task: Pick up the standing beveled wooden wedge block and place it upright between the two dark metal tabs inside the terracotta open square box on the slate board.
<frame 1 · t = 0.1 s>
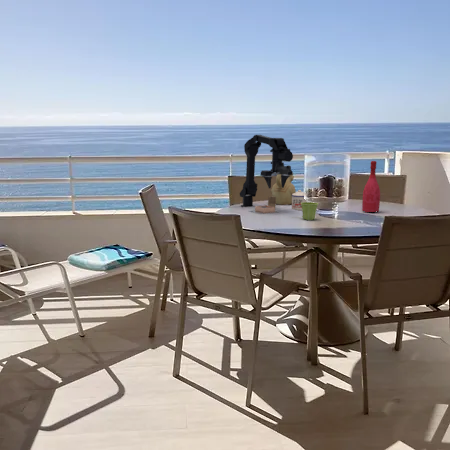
hand: (276, 188, 287), 15 cm above the table, tool pointing down, fingers open, 9 cm apart
ceramic vessel: (282, 204, 327), on the table
teacup with lid: (301, 209, 304), on the table
plant pot: (308, 219, 272), on the table
open square box: (264, 211, 288), resting on slate board
wine bottle: (370, 212, 298), on the table
slate board: (263, 213, 289), on the table
beveled wooden wedge block: (271, 210, 301), on the table
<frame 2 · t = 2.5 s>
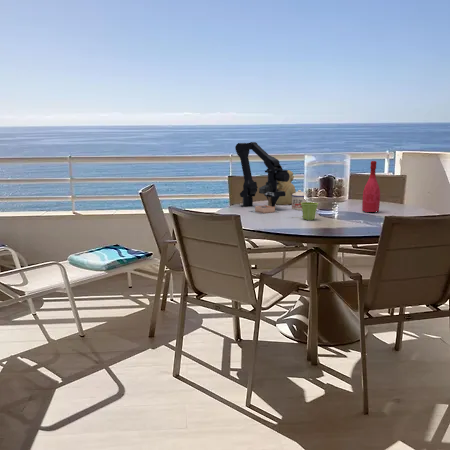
hand: (271, 206, 301), 2 cm above the table, tool pointing down, fingers closed on beveled wooden wedge block, 2 cm apart
beveled wooden wedge block: (271, 210, 301), on the table, touching gripper
everything else where it was.
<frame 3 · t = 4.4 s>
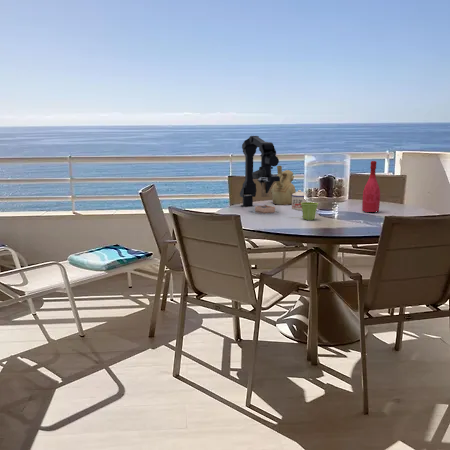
hand: (265, 192, 286), 12 cm above the table, tool pointing down, fingers closed on beveled wooden wedge block
beveled wooden wedge block: (265, 196, 287), point 10 cm above the table, touching gripper
everything else where it was.
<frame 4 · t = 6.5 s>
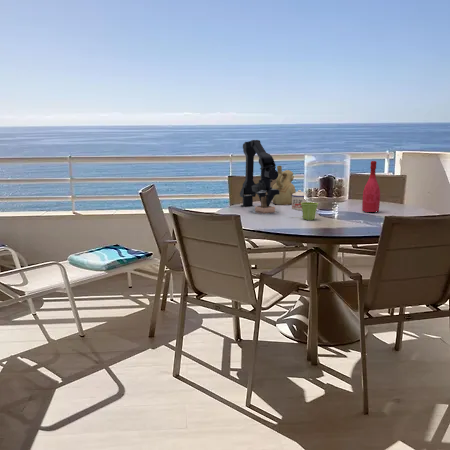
hand: (265, 205, 288), 5 cm above the table, tool pointing down, fingers open, 5 cm apart
beveled wooden wedge block: (264, 210, 288), point 2 cm above the table, touching open square box
everything else where it was.
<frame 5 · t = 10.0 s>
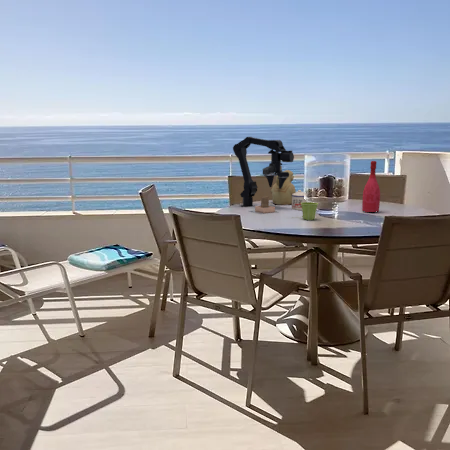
hand: (275, 187, 301), 13 cm above the table, tool pointing down, fingers open, 9 cm apart
nothing on the table moved.
at the end: beveled wooden wedge block 0.2 cm off-centre on the open square box, point 0.6 cm above the open square box's base; beveled wooden wedge block tilted 0°; the gripper is holding nothing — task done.
